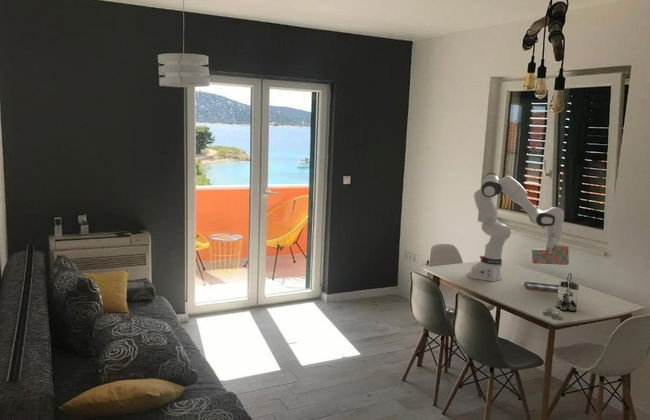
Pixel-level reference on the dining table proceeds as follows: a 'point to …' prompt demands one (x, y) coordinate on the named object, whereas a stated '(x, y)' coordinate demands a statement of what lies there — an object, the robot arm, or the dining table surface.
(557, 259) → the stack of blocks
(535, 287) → the grey flat slab
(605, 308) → the dining table surface
